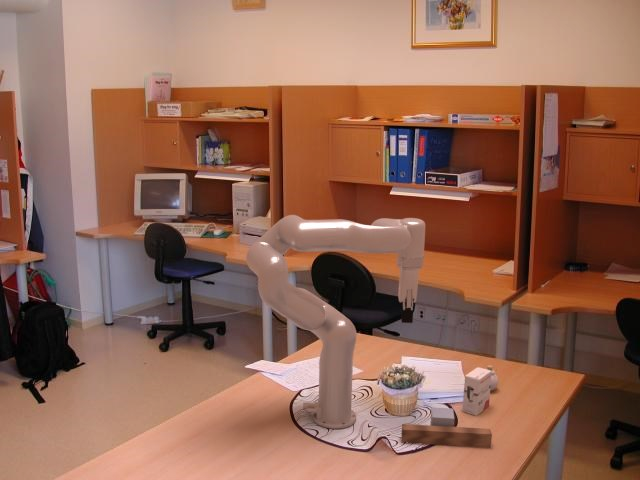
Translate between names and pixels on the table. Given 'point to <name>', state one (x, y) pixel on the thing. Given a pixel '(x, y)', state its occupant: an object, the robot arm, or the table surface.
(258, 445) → the table surface
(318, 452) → the table surface
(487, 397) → the ink box
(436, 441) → the board
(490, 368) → the ornament
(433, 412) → the block
